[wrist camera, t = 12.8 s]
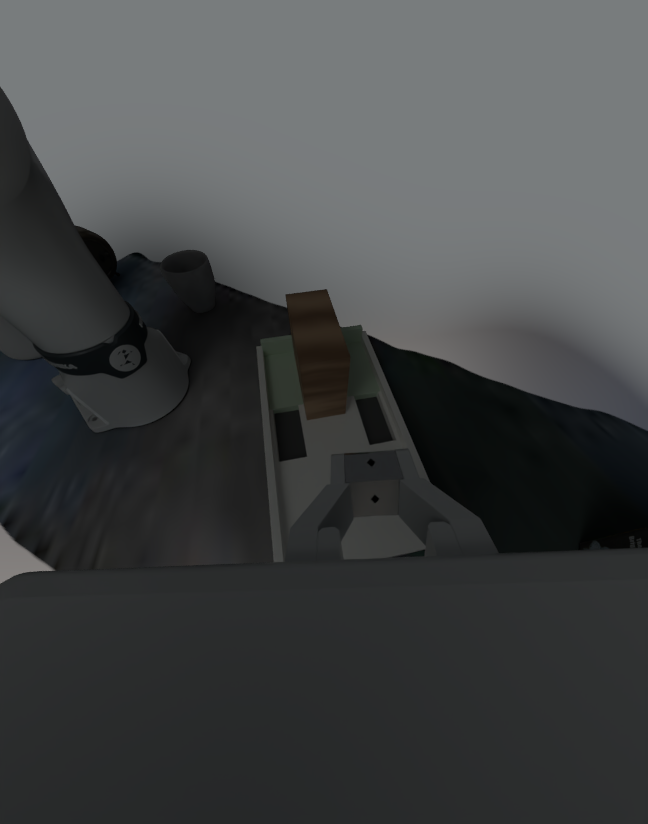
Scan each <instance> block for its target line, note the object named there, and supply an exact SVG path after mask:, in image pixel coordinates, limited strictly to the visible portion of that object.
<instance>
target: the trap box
mask: <svg viewBox="0 0 648 824" xmlns="http://www.w3.org/2000/svg"><path fill="white" fill-rule="evenodd" d="M341 331H342V334H343V337H344V340H345V343H346V345H347V348H348V351H349V354H350V357H351V358H350V369H349V380H348V391H347V401H346V412H345V414H341V415H335V416H329V417H324V418H318V419H312V420H307V419H306V414H305V408H304V403H303V398H302V393H301V387H300V382H299V377H298V372H297V367H296V361H295V356H294V349H293V342H292V335H287V336H280V337H273V338H266V339H260V342H261V346H258V347H256V348H257V360H258V373H259V385H260V397H261V410H262V422H263V434H264V447H265V459H266V471H267V483H268V496H269V508H270V520H271V533H272V545H273V557H274V562H285V557H286V551H287V545H288V539H289V533H290V528H291V527H292V525H293V524H294V523H295V522H296V521H297V519H298V518H299V517H300V516H301V515H302V513H303V512H304V511H305V510H306V509H307V508H308V506H309V505H310V504H311V503H312V502H313V500H314V499H315V498H316V497H317V496H318V494H319V493H320V492H321V491H322V490H323V488H324V487H325V486H326V485H328V484H330V478H331V455H332V454H344V453H359V452H375V451H387V450H395V449H406V448H408V449H409V451H410V454H411V456H412V459H413V462H414V464H415V467H416V470H417V472H418V475H419V478H424V479H426V480H427V481H428V482H430V481H429V479H428V476H427V474H426V472H425V469H424V467H423V465H422V462H421V460H420V458H419V455H418V453H417V451H416V448H415V446H414V443H413V441H412V439H411V436H410V434H409V432H408V429H407V427H406V425H405V422H404V420H403V418H402V415H401V413H400V411H399V408H398V406H397V404H396V401H395V399H394V397H393V394H392V392H391V390H390V387H389V385H388V383H387V380H386V378H385V376H384V373H383V371H382V369H381V366H380V364H379V362H378V359H377V357H376V355H375V352H374V350H373V348H372V345H371V343H370V341H369V338H368V336H367V334H366V331H362V326H361V325H358V326H350V327H343V328H341ZM341 545H342V551H343V558H344V560H346V559H371V558H391V557H395V556H399V555H404V554H408V553H412V552H417V551H421V550H425V547H426V546H425V545H424V544H423V543H422V541H421V540H420V539H419V538H418V537H417V536H416V535H415V534H414V533H413V531H412V530H411V529H410V528H409V527H408V526H407V525H406V524H405V523H404V521H403V520H402V519H401V518H400V517H399V515H385V516H367V517H354V519H353V521H352V523H351V525H350V527H349V528H348V530H347V532H346V534H345V536H344V538H343V539H342V541H341Z"/></svg>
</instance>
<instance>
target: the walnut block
mask: <svg viewBox="0 0 648 824" xmlns="http://www.w3.org/2000/svg"><path fill="white" fill-rule="evenodd" d="M286 301H287V308H288V315H289V322H290V329H291V335H292V342H293V349H294V356H295V361H296V367H297V372H298V377H299V382H300V387H301V393H302V398H303V403H304V408H305V414H306V419H307V420H312V419H318V418H324V417H329V416H335V415H341V414H345V412H346V401H347V391H348V380H349V369H350V358H351V357H350V354H349V351H348V348H347V345H346V343H345V340H344V337H343V334H342V331H341V328H340V326H339V323H338V320H337V317H336V315H335V312H334V309H333V306H332V303H331V300H330V297H329V294H328V292H327V290H326V289H325V290H317V291H310V292H302V293H294V294H286Z"/></svg>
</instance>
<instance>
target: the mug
mask: <svg viewBox="0 0 648 824" xmlns="http://www.w3.org/2000/svg"><path fill="white" fill-rule="evenodd" d="M160 270H161V273H162V275H163V277H164V278H165V279H166V281H167V282H168V283H169V285H170V286H171V287H172V289H173V290H174V291H175V293H176V294H177V295H178V297H179V298H180V299H181V300H182V301H183V302H184V303H185V304H186V305H188V306H189V307H190V308H191V309H192V311H194V312H197V313H203V312H207V311H210V310H211V309H213V308H214V306H215V296H216V288H215V281H214V276H213V272H212V269H211V266H210V263H209V260H208V258H207V256H206V255H205V254H204V253H203V252H200V251H196V250H186V251H180V252H176V253H173V254H171V255H169V256H167V257H166V258H165V259H164V260H163V261H162V263H161V265H160Z"/></svg>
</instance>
